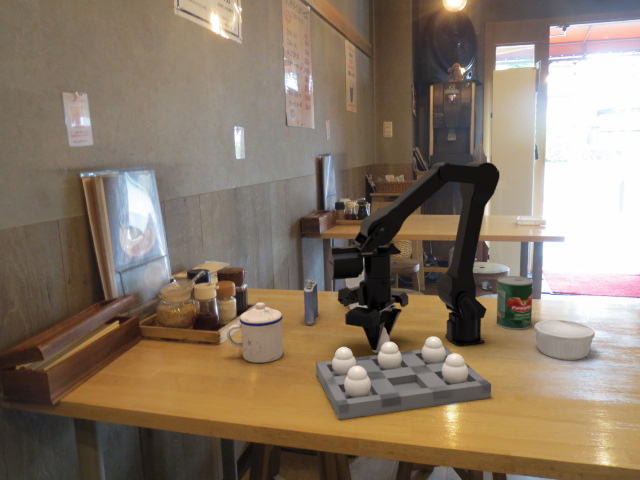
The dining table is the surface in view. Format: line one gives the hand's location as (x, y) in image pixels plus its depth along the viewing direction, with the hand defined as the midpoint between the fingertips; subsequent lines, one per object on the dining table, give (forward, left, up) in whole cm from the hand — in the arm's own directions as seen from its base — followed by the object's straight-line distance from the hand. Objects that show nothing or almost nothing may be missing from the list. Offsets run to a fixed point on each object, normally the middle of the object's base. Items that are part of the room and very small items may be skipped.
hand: (379, 345), depth 113 cm
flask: (+10, -25, -1) cm, 27 cm away
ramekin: (-36, +12, -1) cm, 38 cm away
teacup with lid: (+26, -5, -1) cm, 26 cm away
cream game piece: (0, 0, -1) cm, 1 cm away
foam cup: (-5, -30, -1) cm, 30 cm away
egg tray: (+2, +17, -1) cm, 17 cm away
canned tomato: (-36, -6, -1) cm, 37 cm away
